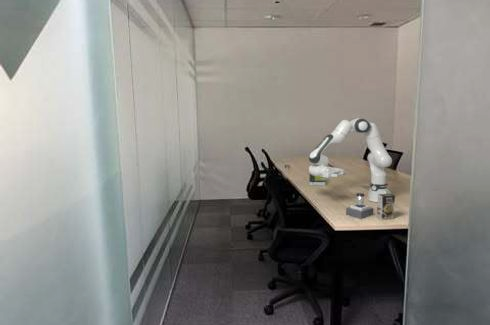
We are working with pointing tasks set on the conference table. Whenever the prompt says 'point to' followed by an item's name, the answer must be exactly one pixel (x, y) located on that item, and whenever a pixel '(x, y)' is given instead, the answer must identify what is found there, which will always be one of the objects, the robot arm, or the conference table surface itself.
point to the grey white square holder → (359, 211)
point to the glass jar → (360, 200)
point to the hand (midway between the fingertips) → (341, 174)
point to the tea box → (316, 180)
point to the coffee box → (385, 206)
